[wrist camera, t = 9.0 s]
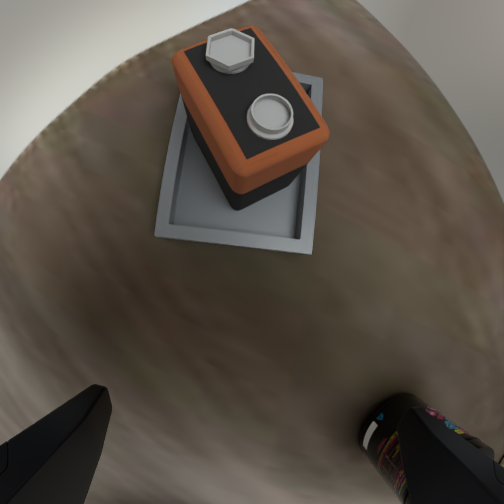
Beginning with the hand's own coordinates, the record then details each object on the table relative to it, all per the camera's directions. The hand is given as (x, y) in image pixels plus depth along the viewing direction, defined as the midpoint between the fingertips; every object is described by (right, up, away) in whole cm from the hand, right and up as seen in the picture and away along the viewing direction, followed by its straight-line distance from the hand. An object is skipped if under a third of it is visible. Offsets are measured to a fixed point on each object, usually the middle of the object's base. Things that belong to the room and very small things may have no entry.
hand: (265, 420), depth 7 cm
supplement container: (+12, -10, +14) cm, 21 cm away
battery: (-1, +11, +13) cm, 17 cm away
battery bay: (-1, +11, +13) cm, 17 cm away
